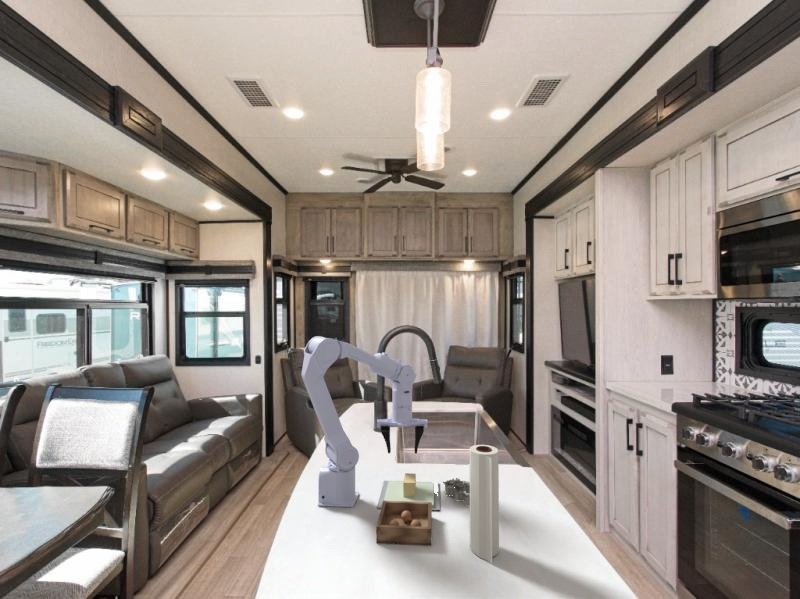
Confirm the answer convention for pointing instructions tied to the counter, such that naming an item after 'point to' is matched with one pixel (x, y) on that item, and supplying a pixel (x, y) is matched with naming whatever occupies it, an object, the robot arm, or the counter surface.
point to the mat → (384, 488)
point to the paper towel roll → (484, 501)
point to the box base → (405, 523)
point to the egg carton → (458, 489)
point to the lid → (410, 490)
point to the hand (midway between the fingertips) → (402, 452)
